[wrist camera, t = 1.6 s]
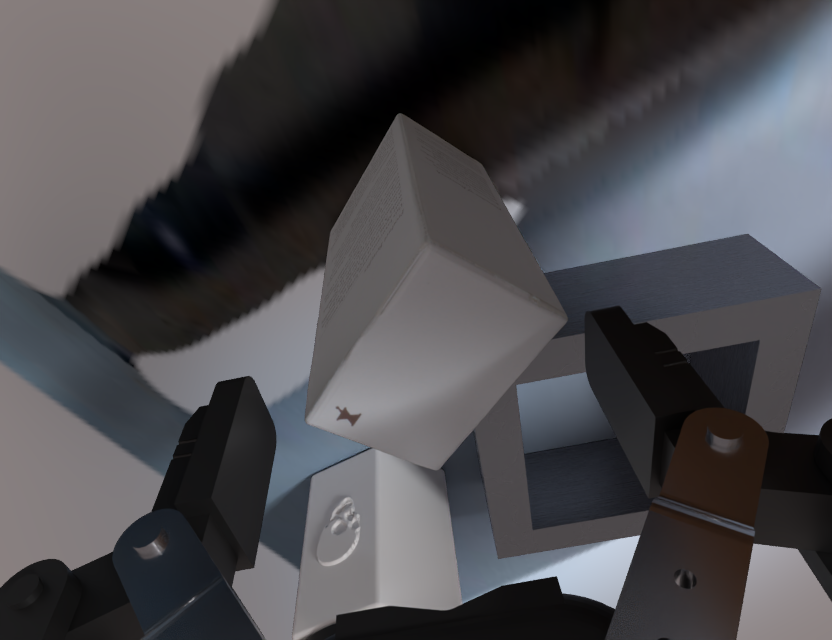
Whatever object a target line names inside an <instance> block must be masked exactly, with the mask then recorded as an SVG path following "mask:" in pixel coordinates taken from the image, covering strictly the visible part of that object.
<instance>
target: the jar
mask: <svg viewBox="0 0 832 640" xmlns="http://www.w3.org/2000/svg"><path fill="white" fill-rule="evenodd" d="M459 605H462V597H461V589H460V582H459V575H458V567H457V560H456V552H455V545H454V537H453V530H452V523H451V515H450V508H449V500H448V493H447V485H446V478H445V472H444V470H442V469H438V470H432V469H429V468H426V467H423V466H420V465H417V464H414V463H411V462H408V461H406V460H403V459H400V458H398V457H395V456H392V455H390V454H387V453H384V452H381V451H379V450H376V449H374V448H371V449H369V450H367V451H365V452H362V453H360V454H358V455H356V456H354V457H352V458H349V459H347V460H345V461H343V462H341V463H339V464H336V465H334V466H332V467H330V468H328V469H325V470H323V471H321V472H319V473H317V474H315V475H313V476H312V478H311V484H310V493H309V501H308V509H307V517H306V525H305V533H304V542H303V550H302V558H301V566H300V574H299V583H298V591H297V600H296V607H295V616H294V623H293V632H292V639H293V640H325V639H326V638H328V637H330V636H332V635H334V634H335V633H336V615H339V614H345V613H350V612H356V611H362V610H367V609H373V608H379V607H385V606H400V607H411V608H421V609H432V610H450V609H453V608H455V607H457V606H459Z"/></svg>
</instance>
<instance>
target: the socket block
mask: <svg viewBox="0 0 832 640" xmlns="http://www.w3.org/2000/svg"><path fill="white" fill-rule="evenodd" d="M544 275H545V277H546V279H547V281H548V282H549V284H550V286H551V288H552V290H553V291H554V293H555V295H556V296H557V298H558V300H559V302H560V304H561V306H562V308H563V309H564V311H565V313H566V315H567V317H568V321H567V322H566V324H565V325H564V326H563V327H562V328H561V329H560V330H559V331H558V332H557V334H556V335H555V336H554V337H553V338H552V339H551V340H550V341H549V343H548V344H547V345H546V346H545V347H544V348H543V349H542V351H541V352H540V353H539V354H538V355H537V356H536V358H535V359H534V360H533V361H532V362H531V363H530V365H529V366H528V367H527V368H526V369H525V370H524V371H523V373H522V374H521V375H520V376H519V377H518V378H517V379H516V380H515V382H514V383H513V384H512V385H511V386H510V387H509V389H508V390H507V391H506V392H505V393H504V395H503V396H502V397H501V398H500V399H499V400H498V402H497V403H496V404H495V405H494V406H493V407H492V409H491V410H490V411H489V412H488V413H487V414H486V416H485V417H484V418H483V419H482V420H481V421H480V423H479V424H478V425H477V426H476V427H475V428H474V430H473V432H474V438H475V443H476V449H477V454H478V460H479V465H480V471H481V476H482V482H483V487H484V492H485V497H486V502H487V506H488V511H489V516H490V521H491V526H492V531H493V536H494V541H495V546H496V551H497V555H498V559H501V558H507V557H513V556H519V555H525V554H530V553H536V552H542V551H548V550H554V549H560V548H566V547H572V546H578V545H584V544H590V543H596V542H602V541H608V540H614V539H620V538H626V537H632V536H637V535H641V532H642V529H643V526H644V523H645V520H646V518H647V515H648V512H649V509H650V506H651V504H652V501H653V499H654V498H648V497H647V495H646V493H645V491H644V489H643V487H642V485H641V483H640V481H639V479H638V477H637V475H636V473H635V471H634V470H633V468H632V466H631V464H630V462H629V460H628V458H627V456H626V454H625V452H624V450H623V448H622V446H621V444H620V443H619V441H618V439H617V438H615V439H609V440H603V441H598V442H592V443H587V444H581V445H575V446H570V447H564V448H558V449H553V450H547V451H541V452H536V453H530V454H525V455H524V450H523V442H522V433H521V424H520V415H519V407H518V398H517V389H516V385H518V384H523V383H529V382H534V381H540V380H545V379H550V378H556V377H561V376H567V375H572V374H578V373H583V372H586V367H585V324H584V319H585V313H586V312H587V311H592V310H597V309H602V308H607V307H613V306H620V307H621V308H622V309H623V310H624V312H625V313H626V314H627V316H628V317H629V318H630V320H631V321H632V323H633V324H639V323H644V322H647V323H649V324H651V325H652V326H654V327H656V328H658V329H659V330H661V331H663V332H664V333H666V334H667V335H668V337H669V338H670V339H671V340H672V342H673V343H674V344H675V346H676V347H677V348H678V351H680V352H681V353H682V354H686V353H691V360H690V365H691V366H692V367H693V368H694V370H695V371H696V372H697V373H698V375H699V376H700V377H701V378H702V380H703V381H704V382H705V383H706V385H707V386H708V387H709V389H710V390H711V391H712V392H713V394H714V395H715V396H716V397H717V399H718V400H719V401H720V402H721V404H722V405H723V406H724V408H726V409H731V410H735V411H738V412H740V413H743V414H745V415H747V416H749V417H751V418H752V419H754V420H755V421H756V422H757V423H759V424H760V425H761V426H762V428H763V429H764V430H765V431H770V432H778V433H784V430H785V427H786V423H787V419H788V415H789V411H790V407H791V404H792V400H793V396H794V392H795V388H796V384H797V381H798V377H799V373H800V369H801V365H802V361H803V358H804V354H805V350H806V346H807V342H808V338H809V335H810V331H811V327H812V323H813V319H814V315H815V312H816V308H817V304H818V300H819V296H820V292H821V288H820V287H818V286H817V285H816V284H814V283H813V282H812V281H810V280H809V279H808V278H806V277H805V276H804V275H802V274H801V273H800V272H798V271H797V270H796V269H794V268H793V267H792V266H790V265H789V264H788V263H786V262H785V261H784V260H782V259H781V258H780V257H778V256H777V255H776V254H774V253H773V252H772V251H770V250H769V249H768V248H766V247H765V246H764V245H762V244H761V243H760V242H758V241H757V240H756V239H754V238H753V237H752V236H750V235H749V234H745V235H740V236H735V237H729V238H724V239H719V240H714V241H709V242H704V243H698V244H693V245H688V246H683V247H678V248H673V249H668V250H662V251H657V252H652V253H647V254H642V255H637V256H632V257H626V258H621V259H616V260H611V261H606V262H601V263H595V264H590V265H585V266H580V267H575V268H570V269H565V270H559V271H554V272H549V273H544ZM657 498H658V497H657Z"/></svg>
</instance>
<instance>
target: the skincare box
mask: <svg viewBox="0 0 832 640" xmlns="http://www.w3.org/2000/svg"><path fill="white" fill-rule="evenodd" d="M567 321H568V317H567V315H566V313H565V311H564V309H563V308H562V306H561V304H560V302H559V300H558V298H557V296H556V295H555V293H554V291H553V290H552V288H551V286H550V284H549V282H548V281H547V279H546V277H545V275H544V274H543V272H542V270H541V268H540V267H539V265H538V263H537V261H536V259H535V257H534V256H533V254H532V252H531V250H530V249H529V247H528V245H527V243H526V242H525V240H524V238H523V237H522V235H521V233H520V231H519V229H518V228H517V226H516V224H515V222H514V220H513V219H512V217H511V215H510V213H509V212H508V210H507V208H506V206H505V204H504V203H503V201H502V199H501V197H500V195H499V193H498V192H497V190H496V188H495V186H494V185H493V183H492V181H491V179H490V178H489V176H488V174H487V172H486V170H485V168H484V167H483V165H482V164H481V163H479V162H478V161H477V160H475V159H473V158H471V157H470V156H468V155H466V154H465V153H463V152H462V151H460V150H459V149H457V148H455V147H454V146H452V145H451V144H449V143H448V142H446V141H445V140H443V139H442V138H440V137H438V136H437V135H435V134H434V133H432V132H431V131H429V130H427V129H426V128H424V127H423V126H421V125H420V124H418V123H416V122H415V121H413V120H412V119H410V118H409V117H407V116H405V115H403V114H401V113H399V114H397V116H396V118H395V119H394V121H393V123H392V125H391V126H390V128H389V130H388V131H387V133H386V135H385V137H384V138H383V140H382V142H381V144H380V145H379V147H378V149H377V151H376V153H375V154H374V156H373V158H372V160H371V161H370V163H369V165H368V167H367V168H366V170H365V172H364V173H363V175H362V177H361V179H360V181H359V182H358V184H357V186H356V188H355V189H354V191H353V193H352V195H351V196H350V198H349V200H348V202H347V204H346V205H345V207H344V209H343V211H342V212H341V214H340V216H339V218H338V219H337V221H336V223H335V225H334V226H333V228H332V230H331V232H330V238H329V245H328V252H327V258H326V266H325V273H324V281H323V289H322V296H321V303H320V311H319V318H318V323H317V330H316V338H315V345H314V353H313V359H312V365H311V371H310V377H309V385H308V393H307V403H306V410H305V422H306V423H307V424H308V425H311V426H314V427H317V428H320V429H322V430H325V431H328V432H331V433H333V434H336V435H339V436H342V437H344V438H347V439H350V440H353V441H355V442H358V443H361V444H363V445H366V446H369V447H371V448H374V449H376V450H379V451H381V452H384V453H387V454H390V455H392V456H395V457H398V458H400V459H403V460H406V461H408V462H411V463H414V464H417V465H420V466H423V467H426V468H429V469H432V470H438V469H440V468H441V467H442V466H443V464H444V463H445V462H446V461H447V460H448V458H449V457H450V456H451V455H452V454H453V453H454V451H455V450H456V449H457V448H458V447H459V446H460V445H461V443H462V442H463V441H464V440H465V439H466V438H467V437H468V435H469V434H470V433H471V432H472V431H473V430H474V428H475V427H476V426H477V425H478V424H479V423H480V421H481V420H482V419H483V418H484V417H485V416H486V414H487V413H488V412H489V411H490V410H491V409H492V407H493V406H494V405H495V404H496V403H497V402H498V400H499V399H500V398H501V397H502V396H503V395H504V393H505V392H506V391H507V390H508V389H509V387H510V386H511V385H512V384H513V383H514V382H515V380H516V379H517V378H518V377H519V376H520V375H521V374H522V373H523V371H524V370H525V369H526V368H527V367H528V366H529V365H530V363H531V362H532V361H533V360H534V359H535V358H536V356H537V355H538V354H539V353H540V352H541V351H542V349H543V348H544V347H545V346H546V345H547V344H548V343H549V341H550V340H551V339H552V338H553V337H554V336H555V335H556V334H557V332H558V331H559V330H560V329H561V328H562V327H563V326H564V325H565V324H566V322H567Z"/></svg>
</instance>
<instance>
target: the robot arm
mask: <svg viewBox="0 0 832 640" xmlns="http://www.w3.org/2000/svg"><path fill="white" fill-rule="evenodd" d="M584 324H585V367H586V373H587V377H588V381H589V384H590V386H591V388H592V391H593V392H594V394H595V396H596V398H597V400H598V402H599V404H600V406H601V408H602V410H603V412H604V414H605V416H606V417H607V419H608V421H609V423H610V425H611V427H612V429H613V431H614V433H615V435H616V437H617V439H618V441H619V443H620V444H621V446H622V448H623V450H624V452H625V454H626V456H627V458H628V460H629V462H630V464H631V466H632V468H633V470H634V471H635V473H636V475H637V477H638V479H639V481H640V483H641V485H642V487H643V489H644V491H645V493H646V495H647V497H648V498H654V499H653V501H652V504H651V506H650V509H649V512H648V515H647V518H646V520H645V523H644V526H643V529H642V532H641V535H640V538H639V541H638V544H637V547H636V550H635V553H634V556H633V559H632V562H631V565H630V567H629V571H628V573H627V576H626V579H625V582H624V585H623V588H622V591H621V594H620V597H619V600H618V603H617V606H616V609H614V608H611V607H609V606H607V605H605V604H603V603H601V602H598V601H595V600H592V599H589V598H586V597H581V596H576V595H571V594H562V592H561V589H560V585H559V582H558V579H557V577H550V578H545V579H538V580H533V581H527V582H521V583H516V584H510V585H504V586H501V587H499V588H496V589H494V590H492V591H490V592H488V593H485V594H483V595H481V596H479V597H477V598H475V599H472V600H470V601H468V602H466V603H464V604H462V605H459V606H457V607H455V608H453V609H450V610H432V609H421V608H411V607H400V606H385V607H379V608H373V609H367V610H362V611H356V612H350V613H345V614H339V615H336V633H335V634H334V635H332V636H330V637H328V638H326V639H325V640H736V638H737V632H738V627H739V621H740V615H741V610H742V604H743V598H744V592H745V587H746V581H747V576H748V570H749V564H750V559H751V553H752V547H753V543H754V544H762V545H770V546H778V547H787V548H796V549H798V550H799V552H800V553H801V555H802V556H803V558H804V560H805V561H806V563H807V564H808V566H809V567H810V569H811V570H812V572H813V573H814V575H815V576H816V578H817V580H818V581H819V583H820V584H821V586H822V587H823V589H824V590H825V592H826V593H827V595H828V596H829V598H830V599H831V601H832V419H830V420H828V421H827V422H826V423H825V424H824V425H823V426H822V428H821V431H820V434H819V435H806V434H791V433H778V432H770V431H765V430H764V429H763V428H762V426H761V425H760V424H759V423H757V422H756V421H755V420H754V419H752V418H751V417H749V416H747V415H745V414H743V413H740V412H738V411H735V410H731V409H726V408H724V406H723V405H722V404H721V402H720V401H719V400H718V399H717V397H716V396H715V395H714V394H713V392H712V391H711V390H710V389H709V387H708V386H707V385H706V383H705V382H704V381H703V380H702V378H701V377H700V376H699V375H698V373H697V372H696V371H695V370H694V368H693V367H692V366H691V365H690V363H689V364H688V363H687V359H686V358H685V357H684V356H683V354H682V353H681V352H680V351H678V348H677V347H676V346H675V344H674V343H673V342H672V340H671V339H670V338H669V337H668V335H667V334H666V333H664V332H663V331H661V330H659V329H658V328H656V327H654V326H652V325H651V324H649V323H647V322H644V323H639V324H633V323H632V321H631V320H630V318H629V317H628V316H627V314H626V313H625V312H624V310H623V309H622V308H621V307H620V306H613V307H607V308H602V309H597V310H592V311H587V312H586V313H585V319H584ZM178 442H179V445H177V447H176V449H175V452H174V454H173V460H171V462H170V465H169V467H168V470H167V473H166V475H165V478H164V480H163V483H162V486H161V488H160V491H159V493H158V496H157V499H156V501H155V504H154V506H153V509H152V512H150V513H148V514H146V515H144V516H142V517H141V518H139V519H138V520H136V521H135V522H134V523H132V524H131V525H130V526H129V527H128V528H127V529H126V530H125V531H124V532H123V534H122V535H121V536H120V538H119V540H118V541H117V543H116V545H115V547H114V550H113V552H111V553H109V554H107V555H105V556H103V557H101V558H98V559H96V560H94V561H92V562H90V563H88V564H85V565H83V566H81V567H79V568H77V569H74V570H72V571H71V570H70V569H69V568H68V567H67V566H66V565H65V564H64V563H63V562H62V561H60V560H56V559H47V560H42V561H39V562H36V563H33V564H31V565H29V566H27V567H26V568H24V569H22V570H21V571H19V572H18V573H16V574H15V575H14V576H13V577H11V578H10V579H9V580H8V581H7V582H6V583H5V584H4V585H3V586H2V587H1V588H0V640H266V639H265V637H264V636H263V634H262V633H261V631H260V629H259V628H258V626H257V625H256V623H255V622H254V620H253V619H252V617H251V616H250V614H249V613H248V611H247V610H246V608H245V606H244V605H243V603H242V602H241V600H240V599H239V597H238V596H237V594H236V592H235V591H234V589H233V588H232V584H233V579H234V574H235V571H240V570H245V569H251V568H254V565H255V559H256V554H257V548H258V543H259V538H260V532H261V527H262V521H263V516H264V510H265V505H266V499H267V494H268V488H269V483H270V477H271V472H272V466H273V461H274V455H275V450H276V431H275V426H274V423H273V420H272V418H271V416H270V414H269V411H268V409H267V407H266V405H265V403H264V400H263V398H262V396H261V394H260V392H259V390H258V387H257V385H256V383H255V381H254V380H253V378H252V377H250V376H246V377H241V378H236V379H231V380H226V381H221V382H218V383H217V384H216V386H215V389H214V392H213V395H212V397H211V400H210V403H209V405H207V406H201V407H199V408H198V410H197V411H196V412H195V413H194V414H193V415H192V417H191V418H190V419H189V420H188V421H187V422H186V424H185V426H184V428H183V431H182V434H181V436H180V439H179V441H178ZM657 497H658V498H657Z"/></svg>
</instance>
